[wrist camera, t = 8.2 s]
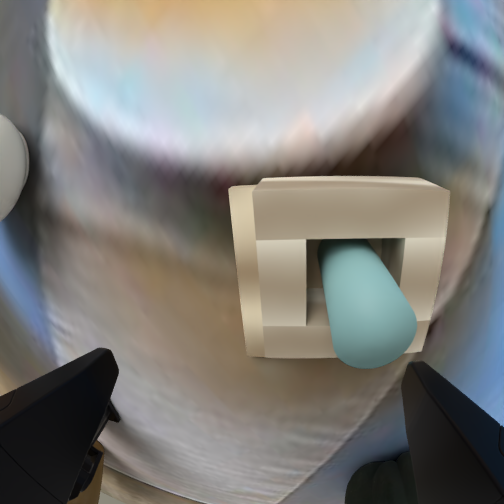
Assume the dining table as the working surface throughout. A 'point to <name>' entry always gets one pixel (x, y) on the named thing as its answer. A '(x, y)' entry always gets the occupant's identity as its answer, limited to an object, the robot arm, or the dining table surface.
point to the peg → (363, 304)
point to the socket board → (306, 247)
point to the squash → (383, 483)
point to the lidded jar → (11, 165)
